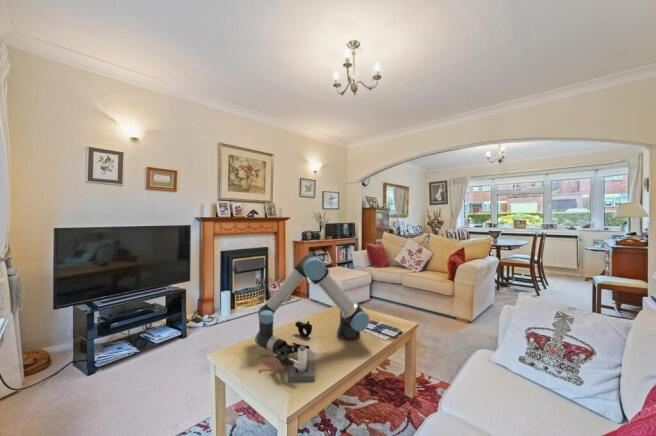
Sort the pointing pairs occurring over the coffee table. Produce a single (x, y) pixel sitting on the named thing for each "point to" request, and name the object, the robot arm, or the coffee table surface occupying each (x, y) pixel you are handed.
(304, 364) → the plug
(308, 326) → the controller
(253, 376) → the coffee table surface
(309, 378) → the socket block
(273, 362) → the tile
